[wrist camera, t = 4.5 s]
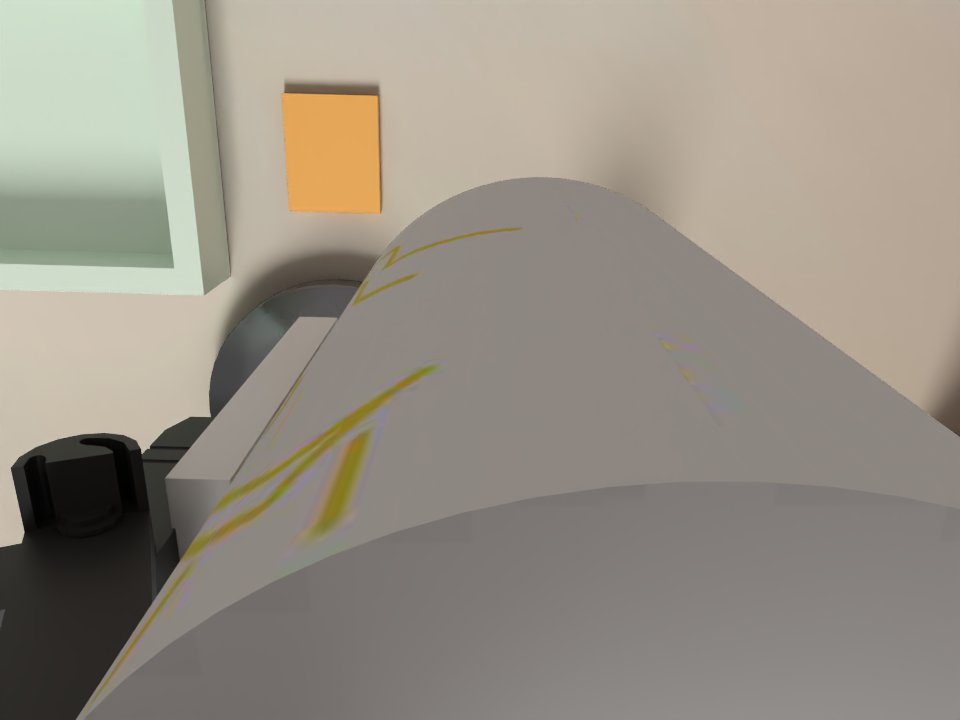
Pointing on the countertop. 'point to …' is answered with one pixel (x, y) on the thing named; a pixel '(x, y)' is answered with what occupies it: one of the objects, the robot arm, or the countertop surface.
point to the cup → (566, 501)
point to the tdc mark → (332, 152)
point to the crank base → (272, 332)
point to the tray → (109, 148)
